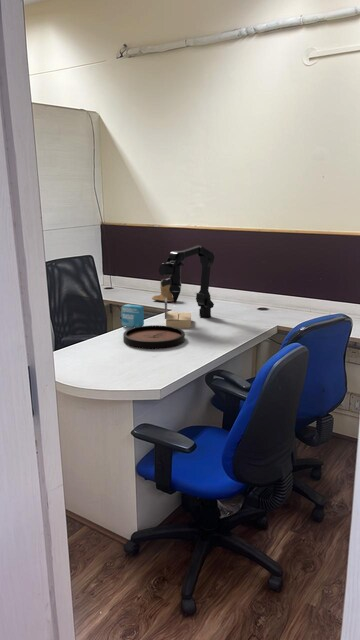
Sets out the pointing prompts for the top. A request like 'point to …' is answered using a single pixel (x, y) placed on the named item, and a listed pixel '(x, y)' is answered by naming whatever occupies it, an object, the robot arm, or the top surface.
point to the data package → (132, 315)
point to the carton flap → (170, 313)
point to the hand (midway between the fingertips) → (175, 301)
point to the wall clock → (154, 337)
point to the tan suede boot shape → (164, 294)
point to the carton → (180, 321)
